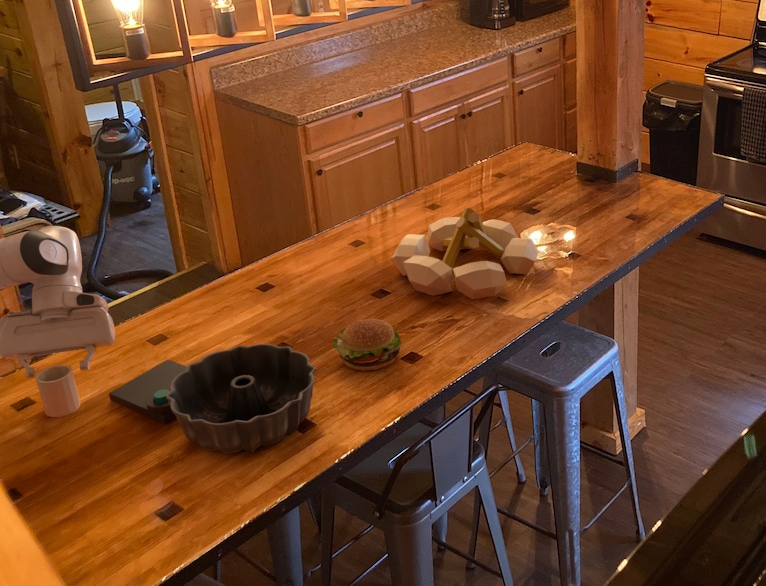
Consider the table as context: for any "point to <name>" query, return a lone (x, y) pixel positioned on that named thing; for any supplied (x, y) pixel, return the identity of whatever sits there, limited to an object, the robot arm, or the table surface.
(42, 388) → the white cup
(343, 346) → the food
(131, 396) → the scale
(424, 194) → the table surface
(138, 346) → the table surface
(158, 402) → the button
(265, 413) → the bundt pan
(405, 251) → the campfire
